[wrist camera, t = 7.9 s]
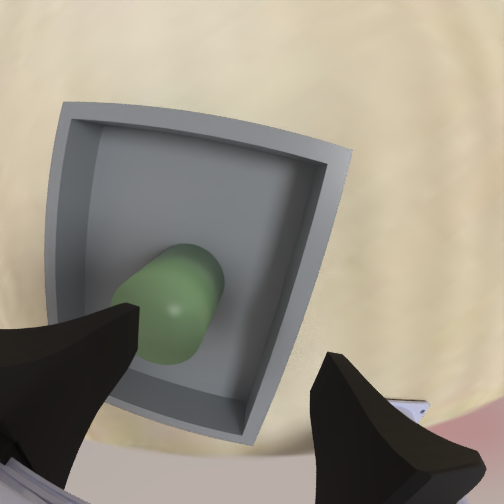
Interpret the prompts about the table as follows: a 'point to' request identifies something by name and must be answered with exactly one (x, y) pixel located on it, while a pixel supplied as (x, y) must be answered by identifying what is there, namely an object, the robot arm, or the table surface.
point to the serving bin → (197, 233)
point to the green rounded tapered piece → (174, 302)
